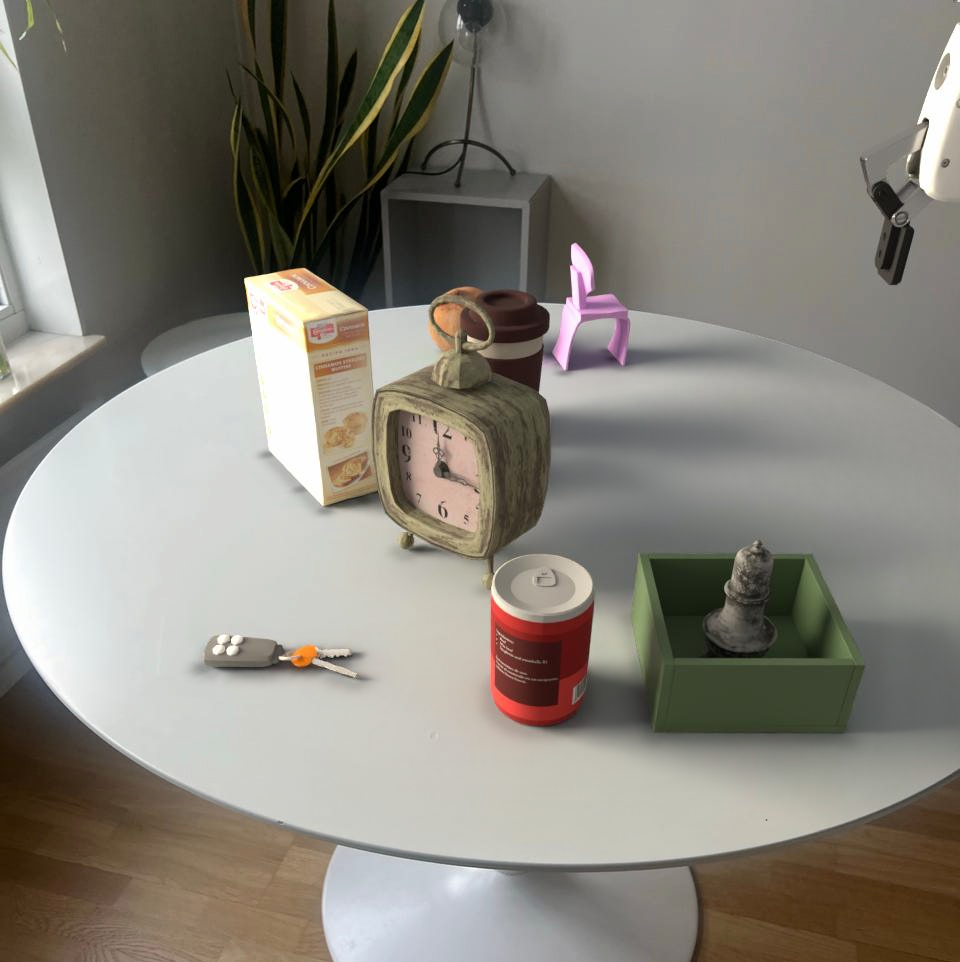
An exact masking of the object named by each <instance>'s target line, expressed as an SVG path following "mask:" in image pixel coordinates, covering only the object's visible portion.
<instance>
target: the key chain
mask: <svg viewBox="0 0 960 962" xmlns="http://www.w3.org/2000/svg"><path fill="white" fill-rule="evenodd" d="M284 652H285V648H284V646H283V644H278V642H277V640H275V639H274V640H273V639H269V638H262V637H261V638H260V637H249V636H242V635H240V634H239V635H228V634H218V635H214V636H212V637H210V638H209V640H208V641H207V644H206V646H205V648H204V651H203V652H202V659H203V663H204V665H205V666H209V667H215V668H216V667H221V668H264V667H270V666H272V665H273V664H278V663H279V662H281V661H289V662H292V665H294V666H295V667H299V668H300V667H301V668H303V667H307V666H309V665H311V664H312V665H315V666H318V667H321V668H322V667H323V668H326V669H327V670H330V671H333V672H335V673H336V672H337V673H340V674H343V675H345V676H350V677H353V678H356V677H357V676H358V672H354V671H352V670H350V669H347V668H346V667H343V666H338V665H335V664H334V663H332V662H329V661H325V660H323V659H326V657H328V658H331V659H334V658H335V657H336V658H339V657H343V656H344V658H346V657H348V656H351V655H352V652H353V651H352V649H351V648H335V649H320V648H318V647H317V646H316V645H312V644H311V645H310V644H308V645H305V646H302V647H300V648H298V649H297V650H295V651H293V650H288V651H286V652H285V654H284Z"/></svg>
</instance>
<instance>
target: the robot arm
mask: <svg viewBox="0 0 960 962" xmlns="http://www.w3.org/2000/svg"><path fill="white" fill-rule="evenodd" d="M952 1H953V3H957V4H958V3H960V0H952ZM936 67H937V68H936V70H935V72H934V75H933V77H932V80H931V83H930V84H929V85H930V86H929V88H928V91H927V94H926V97H925V99H924V102H923V105H922V109H921V111H920V115H919V117H918V121H917V124H916V125H914V126H911V127H910V128H907V129H906V130H904V131H902V132H900V133H897V134H896V135H894V136H892V137H889V138H888V139H886V140H884V141H881V142H879V143H878V144H876V145H874V146H872V147H870V148H868V149H866V150H864V151H862V153H861V154H860V156H859V162H860V167H861V171H862V173H863V174H862V175H863V178H864V182H865V184H866V193H867V195H868V196H869V197H870V199H871V200H872V202H873V203H874V205H875V206H876V207H877V209H878V210H879V213H880V215H882V216H883V217H884V219H883V220H884V221H883V224H882V228H881V232H880V236H879V240H878V244H877V248H876V252H875V256H874V266H875V268H876V270H877V274H878V276H880V277H881V278H882V280H883V281H884V282H885V283H886V284H887V285H888V286H898V285H899V284H901V283H902V280H903V276H904V272H905V269H906V265H907V261H908V257H909V254H910V250H911V247H912V243H913V239H914V236H915V228H913V226H912V225H911V220H913V219H914V218H915V217H916V216H917V215H918V214H919V213H921V211H922V210H923V209H924V208H926V207H927V206H928V205H929V204H930V203H931V202H932V201H933V200H936V201H939V202H944V203H960V21H959V22H957V23H956V25H955V27H954V29H953V32H952V33H951V35H950V38H949V39H948V42H947V44H946V46H945V48H944V50H943V53H942V55H941V58H940V60H939V62H938V65H937V66H936ZM906 157H907V160H906V164H905V165H906V167H905V177H906V180H904V182H902V183H901V185H899V186H898V187H897V188H896V189H895V190H894V189H893V187H892V186H891V185H890V181H889V174H888V170H889V167H890V166H891V165H892V164H894V163H896V162H898V161H900V160H902V159H904V158H906Z"/></svg>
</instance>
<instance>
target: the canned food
mask: <svg viewBox="0 0 960 962" xmlns="http://www.w3.org/2000/svg"><path fill="white" fill-rule="evenodd" d="M494 573H495V574H494V576H493V580H492V587H491V590H490V668H489V669H490V676H489V677H490V681H489V682H490V693H491V695H492V698H493V701H494V703H495V705H496V707H497V709H498V710H499V711H500V712H501V713H502V714H503V715H504V716H505V717H507V718H509V719H510V720H512V721H514V722H516V723H519V724H522V725H527V726H533V727H548V726H554V725H558V724H560V723H562V722H563V723H564V721H567V720H568V719H570V718H571V717H573V715H575V714H576V713H577V712H578V710H579V709H580V707H581V706H582V703H583V701H584V699H585V696H586V690H587V681H588V670H589V661H590V652H591V651H590V650H591V642H592V641H591V639H592V631H593V621H594V609H595V597H596V588H595V587H596V586H595V585H596V584H595V579H594V577H593V576H592V574H591V572H590V571H589V570H588V569H587V568H586V567H585V566H583V565H582V564H581V563H579V562H577V561H575V560H573V559H571V558H568V557H565V556H562V555H558V554H557V555H556V554H551V553H531V554H525V555H520V556H518V557H515V558H512V559H510V560H508V561H506V562H505V563H503V564H501V566H500V567H499V568H497V570H496V571H495V572H494Z"/></svg>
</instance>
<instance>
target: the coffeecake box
mask: <svg viewBox="0 0 960 962" xmlns="http://www.w3.org/2000/svg"><path fill="white" fill-rule="evenodd" d="M244 287H245V291H246V299H247V307H248V312H249V319H250V326H251V332H252V340H253V347H254V353H255V354H254V355H255V361H256V367H257V373H258V375H257V376H258V382H259V389H260V395H261V401H262V407H263V414H264V421H265V429H266V436H267V442H268V443H267V444H268V450H269V451H270V453H272V455H273V456H274V457H275V458H276V459H277V460H278V461H279V462H280V463H281V464H282V465H283V466H284V467H285V468H286V469H287V471H289V472H290V474H292V475H293V477H294V478H295V479H296V480H297V481H298V482H299V483H300V484H301V485H302V486H303V487H304V488H305V489H306V490H307V491H308V493H310V494H311V495H312V496H313V497H314V499H316V500H317V501H318V503H320V504H321V505H322V507H326V506H329V505H333V504H336V503H339V502H343V501H346V500H350V499H353V498H357V497H361V496H365V495H369V494H372V493H375V492H378V488H377V483H376V477H375V469H374V462H373V454H372V423H371V418H372V406H373V400H374V397H375V394H374V380H373V366H372V353H371V351H372V350H371V339H370V337H371V336H370V325H369V308H367V307H365V306H364V305H362V304H361V303H359V302H357V301H356V300H355V299H353V298H352V297H350V296H349V295H347V294H345V293H344V292H342V291H340V290H339V289H337V288H336V287H335V286H333V285H331V284H330V283H329V282H327V281H326V280H324V279H322V278H321V277H319V276H318V275H316V274H315V273H314V272H312V271H310V270H309V269H307V268H305V267H299V268H293V269H286V270H281V271H276V272H272V273H267V274H261V275H255V276H249V277H244Z"/></svg>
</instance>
